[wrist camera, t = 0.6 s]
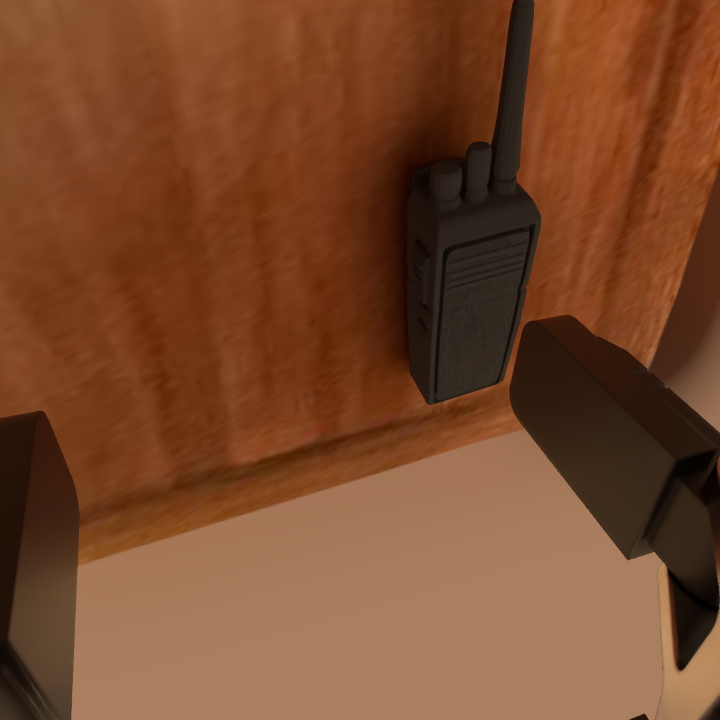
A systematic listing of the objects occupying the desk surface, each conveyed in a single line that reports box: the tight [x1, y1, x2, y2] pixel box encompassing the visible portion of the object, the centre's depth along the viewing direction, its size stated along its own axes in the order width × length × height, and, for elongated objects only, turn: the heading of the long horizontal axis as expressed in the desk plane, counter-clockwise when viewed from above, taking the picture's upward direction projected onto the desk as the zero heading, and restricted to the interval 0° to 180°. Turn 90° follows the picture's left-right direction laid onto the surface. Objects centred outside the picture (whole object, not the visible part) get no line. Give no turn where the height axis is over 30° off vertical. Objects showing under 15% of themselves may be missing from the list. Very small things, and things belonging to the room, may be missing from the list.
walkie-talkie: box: [407, 0, 541, 405], centre depth 27 cm, size 6×6×20 cm
